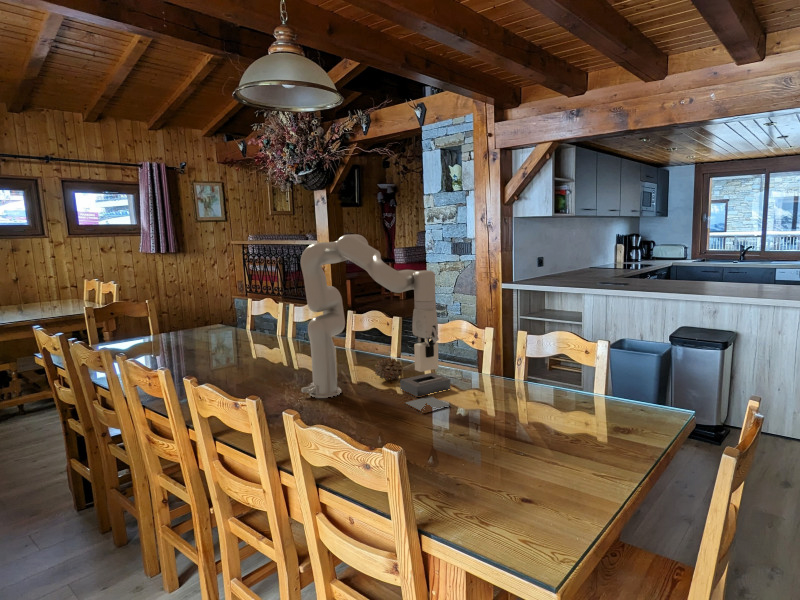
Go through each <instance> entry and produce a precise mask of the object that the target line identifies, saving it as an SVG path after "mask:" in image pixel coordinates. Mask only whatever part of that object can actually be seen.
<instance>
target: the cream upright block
mask: <svg viewBox="0 0 800 600" xmlns="http://www.w3.org/2000/svg"><path fill="white" fill-rule="evenodd" d="M429 342H430V340H429ZM426 346H427V344H426V342H423V343H418V342H417V343H414V346H413V348H414V362H415V366H414V370H415V371H417V372H420V373H421V372H422V373H423V372H427V371H432V370H436V369H439V342H438V341H436V343H435V345H434V356H433V357H428V358H427V357H426Z"/></svg>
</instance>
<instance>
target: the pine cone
mask: <svg viewBox="0 0 800 600" xmlns="http://www.w3.org/2000/svg"><path fill="white" fill-rule="evenodd" d="M374 367H375V368H374V370H375V375H376V377H377V376H378V377H379V378H380V379H381V380H385V381H388V380H390V379H391V380H392V381H393V380H394V379H395V380H396V379H398V378H400V377H402V376H403V371H405V370H408V369H411V368H415V361H413V363H411V364H409V365H406V366H404V365H403V364H401V362H400V360H397V359H395V358H391V357H386V358H385V357H384V358H382V359H380V360H377V364H375V365H374ZM391 380H390V381H391Z"/></svg>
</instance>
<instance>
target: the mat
mask: <svg viewBox="0 0 800 600" xmlns="http://www.w3.org/2000/svg"><path fill="white" fill-rule="evenodd" d="M404 403H406V404H408V405H410V406H412V407H414V408H416V409H418V410H420V411H421V409H422V408H423V407H424V406H426V405H425V404H426V403H427V405H430V406H431V407H432V408H433V407H436V408H441V407H445V406H450V407H451V404H450V403H447V402H445V401H443V400H440V399H438V398H436V397H433V396H432V395H429V396H425V397H421V398H416V399H414V400H413V399H412V400H410V401H406V402H404ZM424 408H425V407H424ZM424 408H423V409H424ZM436 408H433V409H436ZM424 410H425V409H424ZM422 412H423V411H422Z"/></svg>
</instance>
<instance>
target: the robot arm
mask: <svg viewBox="0 0 800 600" xmlns="http://www.w3.org/2000/svg"><path fill="white" fill-rule="evenodd" d="M345 261H350V262H351V263H353V264H355V265H356V266H358V267H360V268H361V269H363V270H365V271H366V272H367V273H368V275H369V276H370V277H371V278H372V280H374V282H376V283H377V284H379V285H380V286H382V287H383V288H385V289H387V290H389V291H390V292H392V293H397V294H400V293H404V292H407V291H411V290H413V293H414V294H413V295H414V297H413V298H414V309H413V311H412V312H413V313H412V326H411V327H412V335H413V336H415V338H416V340H417V343H423V342H426V344H427V346H426V357H427V358H428V357H433V356H434V345H435V343H436V342H438V341H439V336H438V335H439V324H438V322H439V321H438V313H437V307H436V306H437V305H436V304H437V303H436V302H437V301H436V299H437V298H436V274H435V272H434V271H433V270H427V269H426V270H424V269H423V270H414V269H402V270H397V269H394V268H393V267H392V266H390V265H388V264H387V263H385V262H384V261H383V260H382V256H381V252H380V251H379V250H378V249H376V248H374V247H373V246H371V245H369V242H368V240H367V239H366V237H364V236H363V235H361V234H355V233H354V234H353V233H352V234H344V235H342V236H340V237H339V238H338V239H337V240H335V241H327V242H326V241H325V242H323V241H322V242H317V243H312V244H309V246H307V247H306V248H305V249H304V250H303V252H302V254H301V257H300V268H301V271H302V277H303V282H304V289H305V297H306V303H307V306H308V309H309V310H310V311H311V312H314V313H322V314H320V315H317V316H315V317H313V318H311V320H310V321H309V322H308V324H307V334H308V338H309V343H310V355H311V371H312V373H311V374H312V382H310V385H308V386H304V387H301V389H300V392H301V393H307V394H309V396H310V397H311V396H312V398H314V397H315V398H314V399H329V398H328V397H331V398H334V397H333V396H335V397H338V396H340V393H341V394H342V388H340V387H339V386H338V374H337V373H338V372H337V370H338V369H337V352H336V346H335V345H336V344H335V342H334V340H333V337H335V336H337V335H340V334H341V333H343V331H344V329H345V328H346V327H345V325H346V318H345V312H344V305H343V297H342V295H341V292H340V291H339V289H337V288H336V287H335V286H332V285H328V284H327V282H328V281H327V276H326V273H325V271H324V269H323V268H322V266H323V265H331V264H332V265H333V264H337V263H341V262H345ZM429 341H430V342H429ZM337 395H338V396H337Z"/></svg>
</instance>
